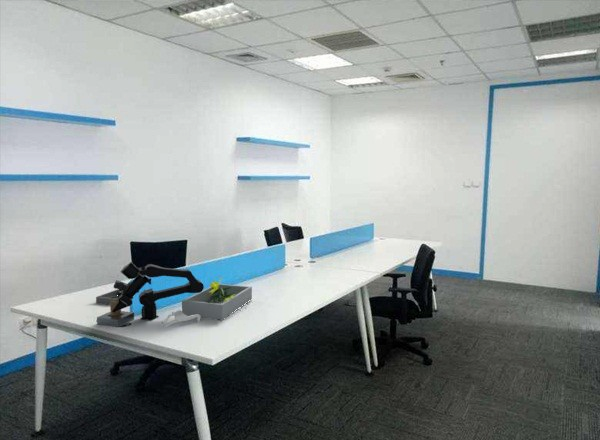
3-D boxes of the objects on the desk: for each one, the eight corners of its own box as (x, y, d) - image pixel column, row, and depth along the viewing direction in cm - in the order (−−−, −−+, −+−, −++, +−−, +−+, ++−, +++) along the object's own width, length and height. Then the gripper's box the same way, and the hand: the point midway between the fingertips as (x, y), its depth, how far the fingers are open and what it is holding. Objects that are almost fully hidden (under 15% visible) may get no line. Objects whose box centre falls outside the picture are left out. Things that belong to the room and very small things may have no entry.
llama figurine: (170, 339, 205) (202, 319, 214) (160, 320, 201) (194, 300, 210) (168, 338, 206) (200, 318, 215) (159, 319, 202) (192, 299, 212)
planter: (251, 300, 252) (251, 286, 252) (222, 320, 215) (222, 305, 214) (216, 296, 258) (216, 283, 258) (181, 315, 221) (181, 300, 220)
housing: (134, 319, 214) (134, 312, 214) (118, 327, 203) (117, 319, 203) (114, 316, 218) (114, 310, 217) (97, 324, 206) (96, 317, 206)
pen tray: (134, 296, 255) (134, 291, 255) (114, 305, 238) (113, 298, 237) (117, 294, 258) (117, 289, 258) (96, 303, 241) (96, 296, 241)
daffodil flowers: (235, 300, 254) (242, 301, 220) (213, 312, 250) (216, 315, 216) (223, 275, 255) (227, 272, 221) (200, 286, 250) (201, 285, 217)
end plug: (123, 320, 212) (123, 296, 211) (116, 323, 207) (116, 298, 206) (115, 319, 213) (114, 295, 212) (108, 322, 209) (107, 297, 207)
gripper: (123, 270, 218) (99, 294, 215) (124, 278, 201) (99, 304, 198) (139, 284, 222) (117, 307, 219) (142, 293, 205) (118, 318, 202)
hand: (112, 309), depth 209 cm, fingers open, 9 cm apart
